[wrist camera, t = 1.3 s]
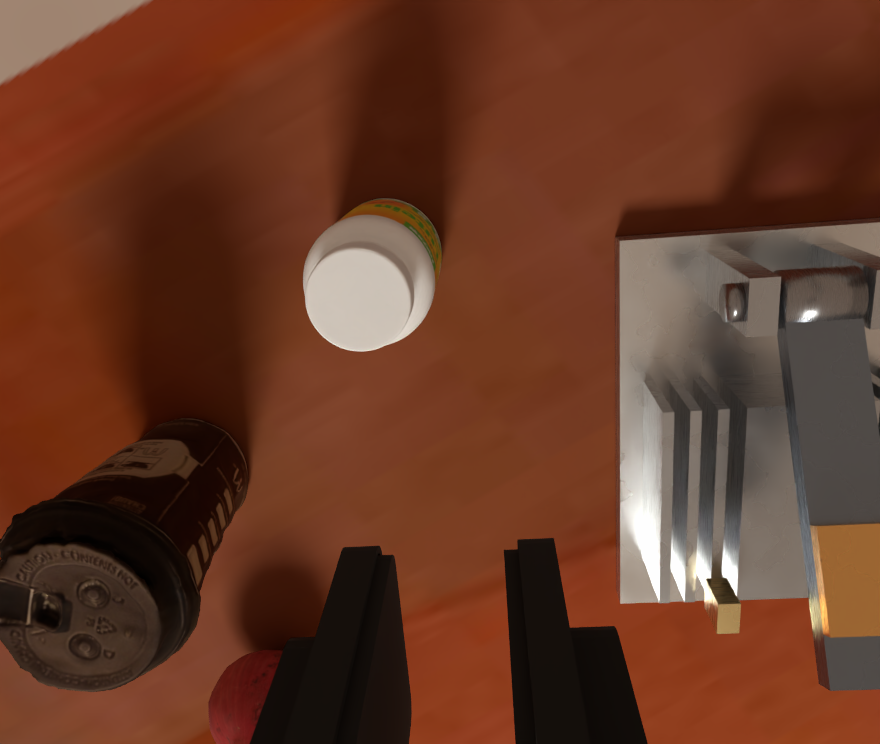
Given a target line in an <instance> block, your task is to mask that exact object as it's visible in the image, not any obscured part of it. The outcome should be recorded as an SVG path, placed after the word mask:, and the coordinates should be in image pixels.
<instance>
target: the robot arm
mask: <svg viewBox="0 0 880 744" xmlns="http://www.w3.org/2000/svg"><path fill="white" fill-rule="evenodd" d="M504 558H505V575H506V591H507V608H508V625H509V641H510V658H511V674H512V691H513V707H514V724H515V740H516V744H647V740H646V736H645V732H644V729H643V725H642V721H641V717H640V714H639V710H638V706H637V702H636V699H635V695H634V691H633V688H632V684H631V680H630V676H629V673H628V669H627V665H626V661H625V658H624V654H623V650H622V647H621V643H620V639H619V636H618V633H617V630H616V628H615V627H614V626H607V627H579V628H570V627H569V621H568V616H567V610H566V604H565V599H564V593H563V588H562V582H561V576H560V571H559V565H558V559H557V554H556V548H555V543H554V539H553V538H545V539H523V540H518V549H517V550H504ZM410 727H411V693H410V684H409V676H408V667H407V659H406V650H405V641H404V633H403V624H402V615H401V607H400V598H399V590H398V581H397V572H396V564H395V558H394V556H393V555H382V551H381V548H380V546H365V547H345V548H343V549H342V551H341V555H340V558H339V561H338V564H337V568H336V571H335V574H334V577H333V581H332V584H331V587H330V590H329V594H328V597H327V600H326V604H325V607H324V610H323V613H322V617H321V620H320V623H319V626H318V630H317V633H316V636H315V637H301V638H290V639H289V640H288V641H287V643H286V645H285V647H284V649H283V652H282V655H281V657H280V660H279V663H278V666H277V669H276V671H275V674H274V677H273V680H272V682H271V685H270V688H269V691H268V694H267V696H266V699H265V702H264V705H263V708H262V710H261V713H260V716H259V719H258V722H257V724H256V727H255V730H254V733H253V736H252V738H251V741H250V744H409V736H410Z"/></svg>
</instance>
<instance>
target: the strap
mask: <svg viewBox="0 0 880 744" xmlns="http://www.w3.org/2000/svg"><path fill="white" fill-rule="evenodd" d="M774 273H776V274H778V275H779V276H781V289H780V303H779V317H778V332H777V339H778V347H779V356H780V364H781V372H782V381H783V389H784V397H785V406H786V414H787V422H788V431H789V439H790V447H791V455H792V464H793V472H794V480H795V489H796V497H797V505H798V514H799V522H800V530H801V539H802V547H803V555H804V563H805V572H806V580H807V588H808V597H809V605H810V613H811V622H812V630H813V638H814V647H815V655H816V663H817V671H818V680H819V684H820V685H822V686H824V687H825V688H827V689H828V690H830V691H835V690H869V689H880V435H879V428H878V421H877V414H876V407H875V399H874V392H873V385H872V378H871V371H870V363H869V356H868V349H867V342H866V335H865V327H864V320H863V318H864V316H865V314H866V311H867V307H868V299H869V292H868V284H867V280H866V277H865V275H864V273H863V271H862V270H861V268H860V267H858V266H856V265H846V266H831V267H817V268H802V269H787V270H776V271H774Z"/></svg>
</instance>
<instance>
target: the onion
mask: <svg viewBox="0 0 880 744" xmlns="http://www.w3.org/2000/svg"><path fill="white" fill-rule="evenodd" d="M282 652H283V651H281V650H261V651H257V652H253V653H250V654H247V655H245V656H243V657H241V658H239V659H238V660H236V661H235V662H234V663H232V664H231V665H230V666H228V667H227V668H226V670H225V671H224V672H223V674H222V675H221V677H220V679H219V680H218V682H217V684H216V686H215V688H214V689H213V691H212V694H211V697H210V700H209V723H210V730H211V734H212V736H213V738H214V740H215V742H216V743H217V744H250V741H251V738H252V736H253V733H254V730H255V727H256V724H257V722H258V719H259V716H260V713H261V710H262V708H263V705H264V702H265V699H266V696H267V694H268V691H269V688H270V685H271V682H272V680H273V677H274V674H275V671H276V669H277V666H278V663H279V660H280V657H281V655H282Z"/></svg>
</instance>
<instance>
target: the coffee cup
mask: <svg viewBox="0 0 880 744" xmlns="http://www.w3.org/2000/svg"><path fill="white" fill-rule="evenodd" d="M247 489H248V472H247V466H246V461H245V458H244V455H243V453H242V451H241V450H240V448H239V446H238V444H237V443H236V442H235V441H234V440H233V438H232V437H231V436H230V435H229V434H228V433H227V432H226V431H224V430H223V429H221V428H219V427H217V426H215V425H212V424H210V423H207V422H205V421H202V420H198V419H189V418H184V419H177V420H173V421H169V422H166V423H163V424H160V425H158V426H156V427H155V428H153V429H152V430H151V431H149V432H148V433H146V435H145V436H144V437H143V438H141V439H140V440H139V441H137V442H135V443H133V444H130V445H128V446H126V447H125V448H123V449H122V450H120V451H118V452H117V453H116V454H114V455H113V456H111V457H110V458H108V459H107V460H106V461H105V462H103V463H102V464H101V465H99V466H98V467H96V468H95V469H93V470H92V471H90V472H88V473H87V474H86V475H85V476H83V477H82V478H81V479H80V480H78V481H77V482H76V483H74V484H73V485H71V486H70V487H68V488H67V489H65V490H64V491H62V492H61V493H59V494H58V495H57V496H55V498H54V499H50V500H47V501H42V502H40V503H39V504H37V505H33V506H31V507H30V508H28V509H27V510H26V511H25V512H23V513H20V514H16V515H14V516H13V518H12V523H11V525H10V526H9V527H8V528H7V530H6V532H5V534H4V535H3V537H2V539H0V552H1V553H0V557H1V558H2V559H1V560H0V640H1V641H2V643H3V644H4V645H5V646H6V648H7V649H8V650H9V652H10V653H11V654H12V656H13V658H14V659H15V661H16V662H17V663H18V664H19V666H20V668H22V669H24V670H25V671H28V672H30V673H31V674H32V676H33V677H34V678H36V679H37V681H38V682H40V683H43V684H45V685H47V686H54V687H56V688H58V689H67V690H75V691H88V692H97V691H105V690H112V689H115V688H117V687H121V686H122V685H125V684H127V683H129V682H131V681H133V680H135V679H136V678H138V677H139V676H142V675H144V674H145V673H147V672H148V671H150V670H152V669H154V668H155V667H157V666H158V665H160V664H162V663H163V662H165V661H166V660H167V659H168V658H169V657H170V656H172V655H173V654H174V653H176V652H177V651H179V650H180V649H181V648H182V646H183V645H184V644H185V643H186V641H187V640H188V638H189V637H190V635H191V633H192V632H193V630H194V629H195V627H196V625H197V621H198V617H199V612H200V602H201V596H200V590H201V587H202V583H203V580H204V577H205V574H206V572H207V570H208V569H209V566H210V564H211V561H212V557H213V555H214V553H215V552H216V551H217V550H218V548H219V547H220V544H221V542H222V538H223V533H224V531H225V529H226V528H227V527H228V526H229V524H230V523H231V521H232V519H233V516H234V514H235V512H236V511H237V510H238V509H239V508H240V507H241V506H242V504H243V502H244V500H245V498H246V494H247Z"/></svg>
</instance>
